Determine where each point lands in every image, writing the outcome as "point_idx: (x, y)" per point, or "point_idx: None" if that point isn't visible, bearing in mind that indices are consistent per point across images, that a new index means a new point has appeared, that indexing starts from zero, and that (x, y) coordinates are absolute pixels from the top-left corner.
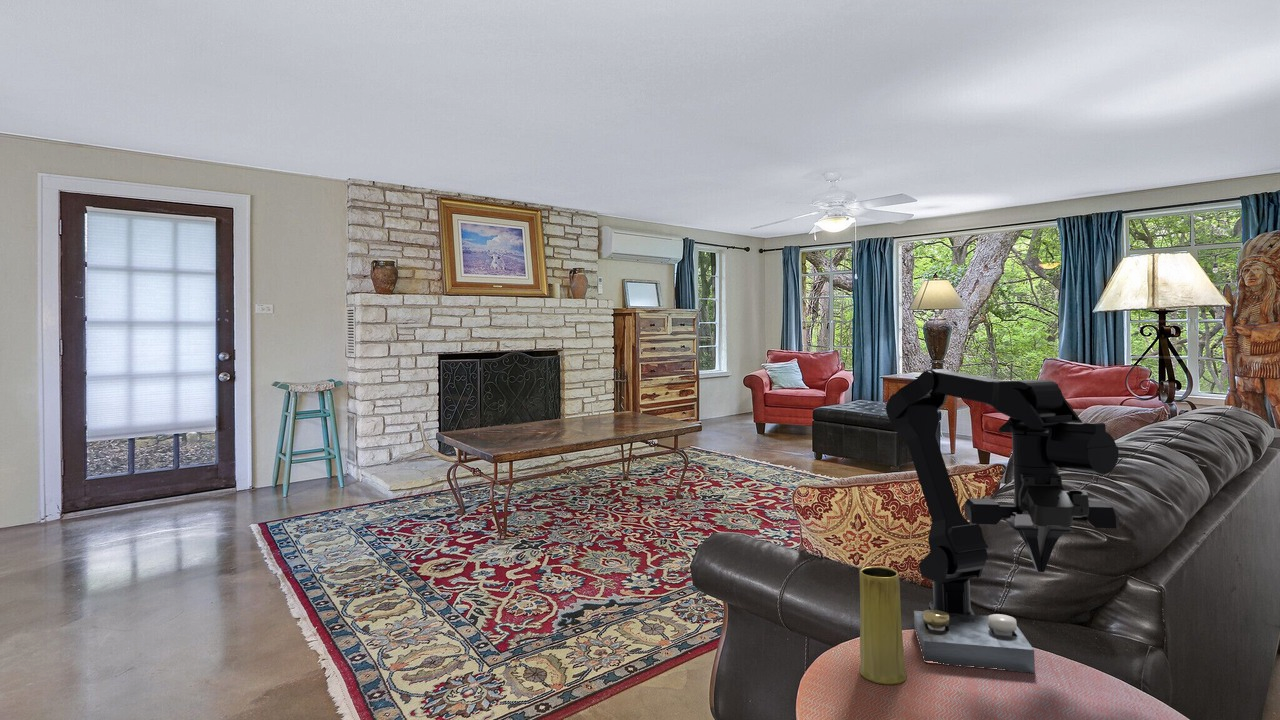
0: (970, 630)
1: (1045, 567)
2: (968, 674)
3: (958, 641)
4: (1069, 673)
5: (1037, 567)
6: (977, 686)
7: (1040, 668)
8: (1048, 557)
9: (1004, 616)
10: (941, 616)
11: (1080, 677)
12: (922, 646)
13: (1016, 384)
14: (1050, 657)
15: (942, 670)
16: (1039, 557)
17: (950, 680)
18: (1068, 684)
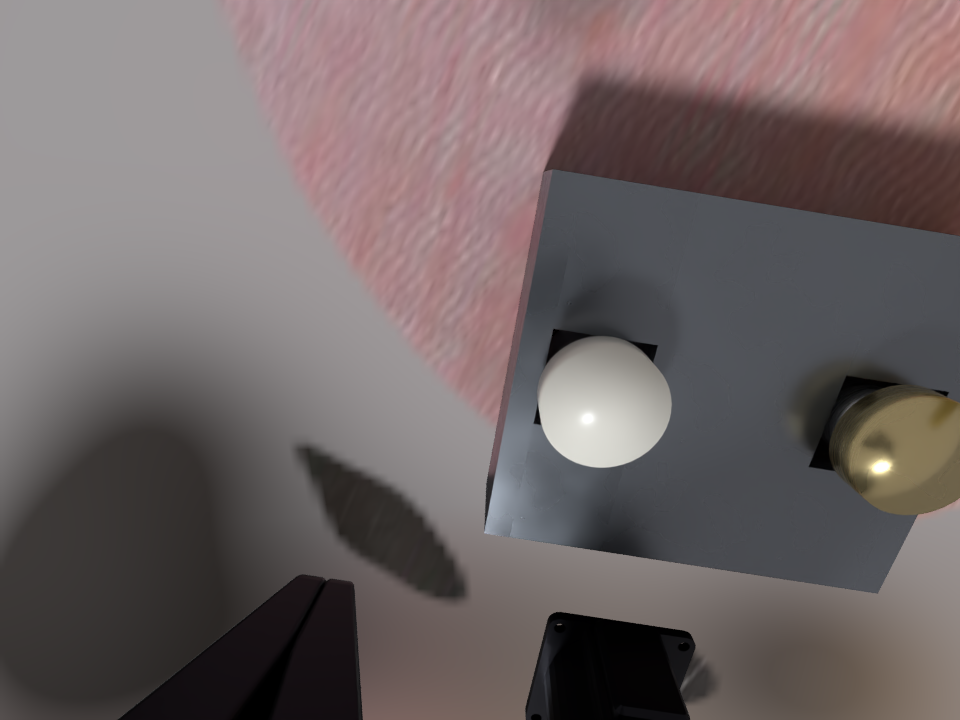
0: (740, 388)
1: (271, 600)
2: (824, 143)
3: (877, 251)
4: (407, 184)
5: (348, 608)
6: (850, 19)
7: (499, 223)
8: (173, 690)
9: (578, 439)
10: (914, 427)
11: (380, 148)
12: None
13: None
14: (417, 326)
15: (915, 175)
16: (286, 699)
17: (937, 73)
18: (455, 75)
